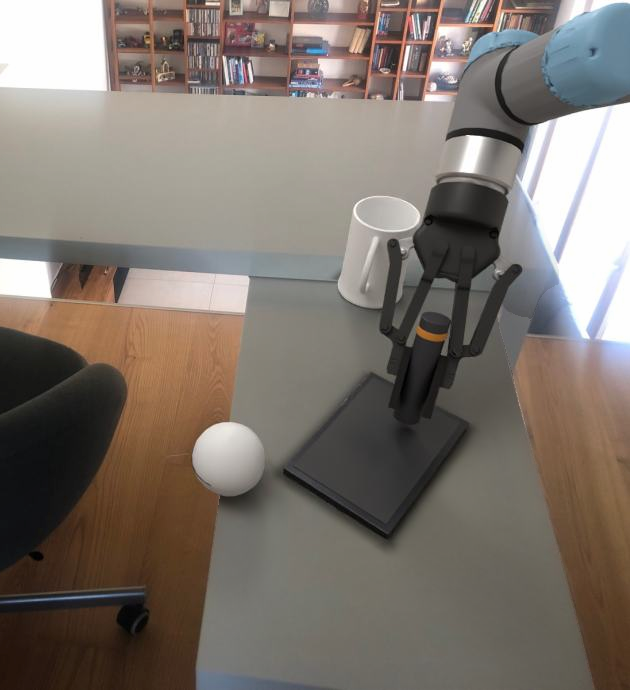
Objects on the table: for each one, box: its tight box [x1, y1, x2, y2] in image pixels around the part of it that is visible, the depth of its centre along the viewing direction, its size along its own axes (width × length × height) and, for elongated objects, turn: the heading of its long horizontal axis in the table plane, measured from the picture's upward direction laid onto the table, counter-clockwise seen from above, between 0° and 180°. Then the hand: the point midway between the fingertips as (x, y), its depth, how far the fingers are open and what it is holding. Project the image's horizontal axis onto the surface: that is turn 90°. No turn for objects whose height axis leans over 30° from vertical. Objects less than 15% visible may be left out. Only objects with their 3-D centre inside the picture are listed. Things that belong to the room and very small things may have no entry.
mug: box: [337, 195, 421, 310], centre depth 88 cm, size 12×8×12 cm
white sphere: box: [165, 421, 267, 497], centre depth 69 cm, size 10×7×7 cm
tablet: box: [282, 371, 470, 540], centre depth 74 cm, size 12×18×1 cm, turn 139°
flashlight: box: [393, 311, 451, 425], centre depth 71 cm, size 3×3×12 cm
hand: (408, 412), depth 71 cm, fingers closed on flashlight, 3 cm apart
